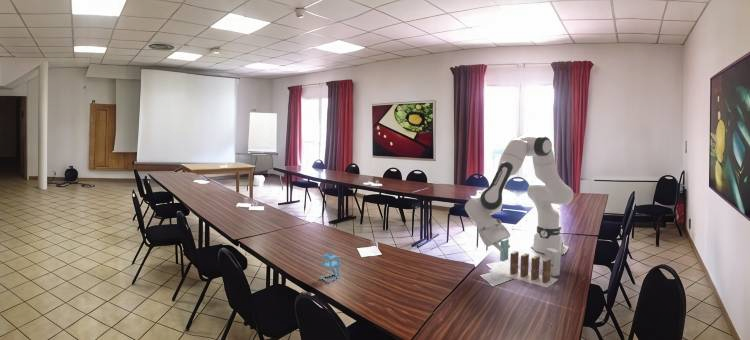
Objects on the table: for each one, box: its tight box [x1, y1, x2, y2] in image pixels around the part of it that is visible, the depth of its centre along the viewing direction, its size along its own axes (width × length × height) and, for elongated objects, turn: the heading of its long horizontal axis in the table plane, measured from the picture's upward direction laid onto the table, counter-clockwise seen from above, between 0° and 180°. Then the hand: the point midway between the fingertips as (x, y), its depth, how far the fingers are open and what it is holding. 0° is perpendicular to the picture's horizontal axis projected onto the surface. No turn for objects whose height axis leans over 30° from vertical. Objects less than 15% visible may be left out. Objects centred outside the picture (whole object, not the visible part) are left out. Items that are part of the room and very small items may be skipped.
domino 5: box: [541, 258, 551, 283], centre depth 166 cm, size 2×5×10 cm, turn 134°
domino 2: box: [509, 250, 520, 275], centre depth 177 cm, size 2×5×10 cm, turn 134°
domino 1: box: [499, 238, 510, 262], centre depth 180 cm, size 2×5×10 cm, turn 134°
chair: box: [319, 252, 342, 283], centre depth 173 cm, size 8×8×12 cm
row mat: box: [488, 264, 559, 288], centre depth 174 cm, size 13×28×1 cm, turn 44°
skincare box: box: [544, 248, 562, 277], centre depth 176 cm, size 6×4×12 cm
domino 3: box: [520, 253, 530, 277], centre depth 173 cm, size 2×5×10 cm, turn 134°
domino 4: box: [530, 255, 541, 280], centre depth 170 cm, size 2×5×10 cm, turn 134°
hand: (505, 249), depth 179 cm, fingers closed on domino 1, 5 cm apart
